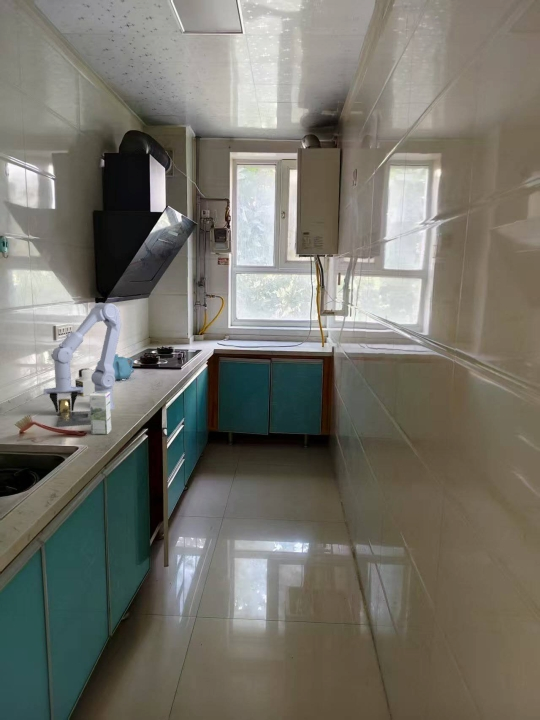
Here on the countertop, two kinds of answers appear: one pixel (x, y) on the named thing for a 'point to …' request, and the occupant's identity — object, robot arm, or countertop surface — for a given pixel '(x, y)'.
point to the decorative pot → (122, 367)
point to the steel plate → (75, 418)
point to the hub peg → (64, 405)
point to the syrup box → (100, 412)
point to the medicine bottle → (85, 382)
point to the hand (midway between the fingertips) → (64, 411)
